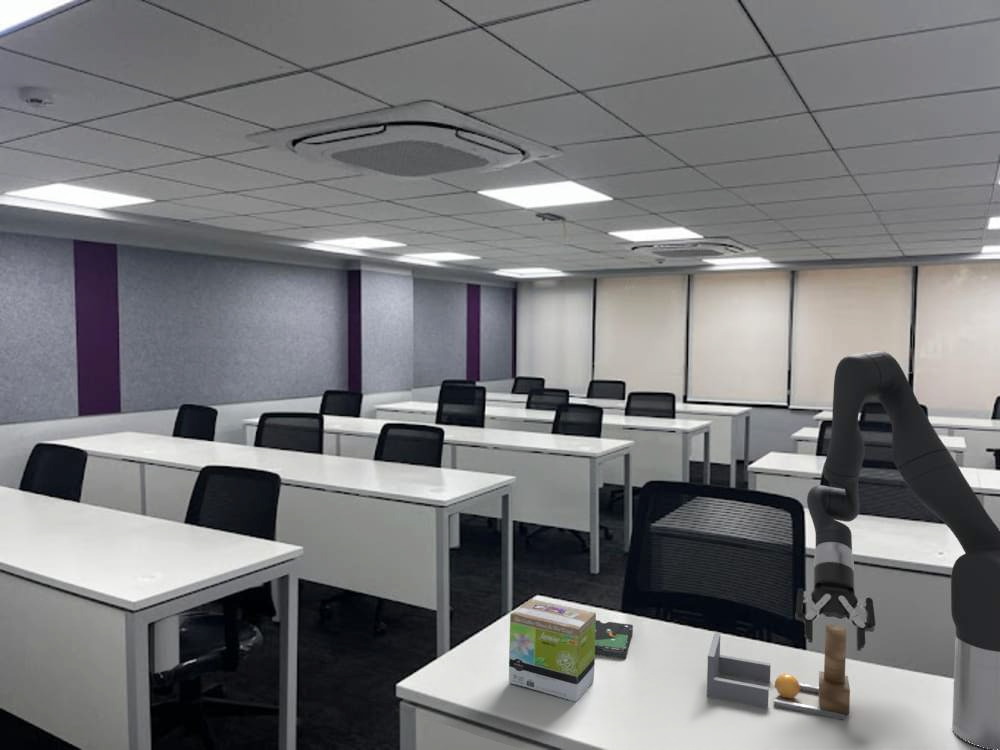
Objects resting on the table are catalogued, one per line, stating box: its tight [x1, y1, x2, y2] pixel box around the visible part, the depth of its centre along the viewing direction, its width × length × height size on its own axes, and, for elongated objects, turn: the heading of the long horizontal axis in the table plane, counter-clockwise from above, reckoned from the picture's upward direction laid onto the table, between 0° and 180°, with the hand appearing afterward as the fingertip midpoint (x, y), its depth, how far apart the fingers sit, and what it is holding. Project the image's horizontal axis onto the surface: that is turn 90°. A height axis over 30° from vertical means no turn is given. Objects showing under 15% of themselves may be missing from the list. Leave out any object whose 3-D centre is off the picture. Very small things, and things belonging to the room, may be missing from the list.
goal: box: [706, 632, 772, 709], centre depth 141 cm, size 11×12×8 cm
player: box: [818, 624, 851, 715], centre depth 134 cm, size 5×6×15 cm
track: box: [773, 678, 845, 720], centre depth 136 cm, size 12×10×1 cm
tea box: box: [508, 598, 597, 703], centre depth 141 cm, size 15×10×15 cm, turn 62°
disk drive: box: [595, 619, 634, 660], centre depth 162 cm, size 10×3×15 cm
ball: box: [774, 673, 801, 699], centre depth 137 cm, size 4×4×4 cm
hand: (834, 645), depth 136 cm, fingers open, 8 cm apart
